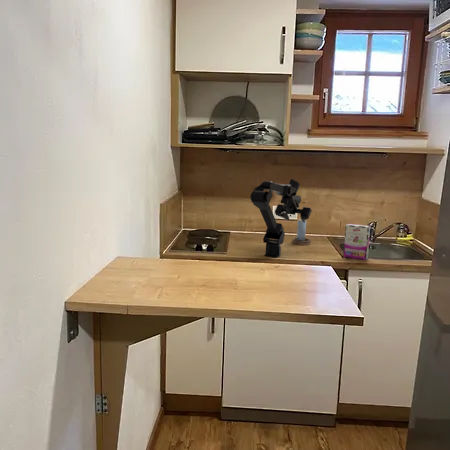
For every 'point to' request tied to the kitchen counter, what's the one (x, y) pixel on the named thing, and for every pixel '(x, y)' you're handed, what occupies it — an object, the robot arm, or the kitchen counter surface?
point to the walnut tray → (306, 242)
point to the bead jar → (301, 230)
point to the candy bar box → (356, 241)
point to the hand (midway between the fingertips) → (296, 221)
